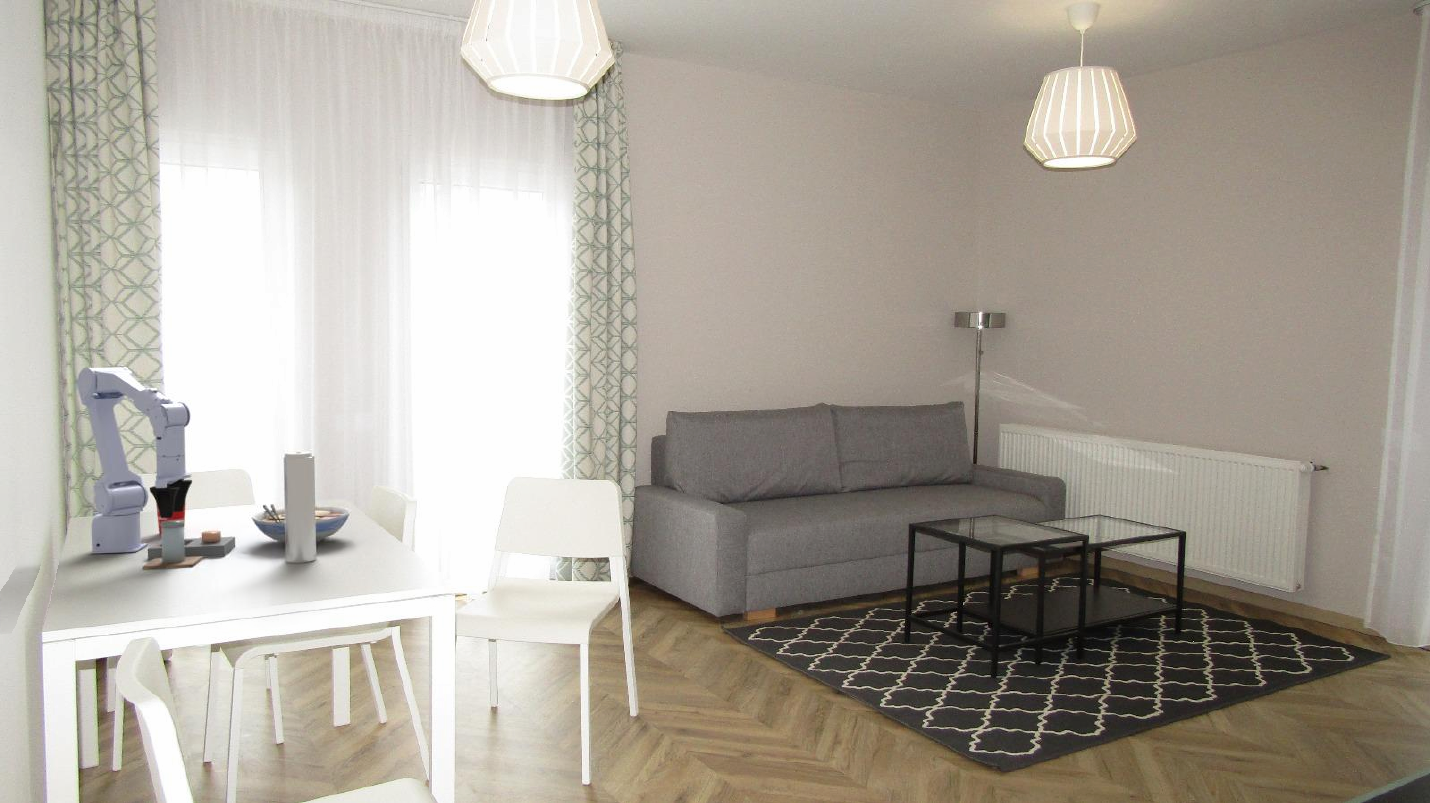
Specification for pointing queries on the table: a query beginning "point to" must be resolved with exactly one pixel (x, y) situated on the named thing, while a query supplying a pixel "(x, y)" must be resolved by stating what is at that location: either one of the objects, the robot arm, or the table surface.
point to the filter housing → (198, 548)
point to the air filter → (299, 507)
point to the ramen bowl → (326, 518)
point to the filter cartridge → (173, 541)
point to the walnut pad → (158, 563)
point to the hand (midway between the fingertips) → (172, 514)
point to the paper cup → (175, 517)
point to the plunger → (211, 536)
